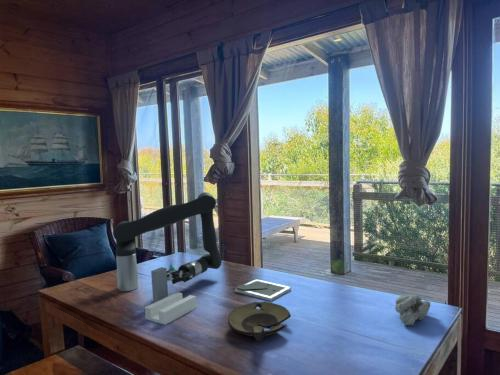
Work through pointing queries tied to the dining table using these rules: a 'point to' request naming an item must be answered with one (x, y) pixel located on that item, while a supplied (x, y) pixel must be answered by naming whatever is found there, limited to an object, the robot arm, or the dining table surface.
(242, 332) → the oil lamp
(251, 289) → the picture frame
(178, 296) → the rail
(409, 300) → the mineral
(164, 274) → the slate slat
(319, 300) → the dining table surface
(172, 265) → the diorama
